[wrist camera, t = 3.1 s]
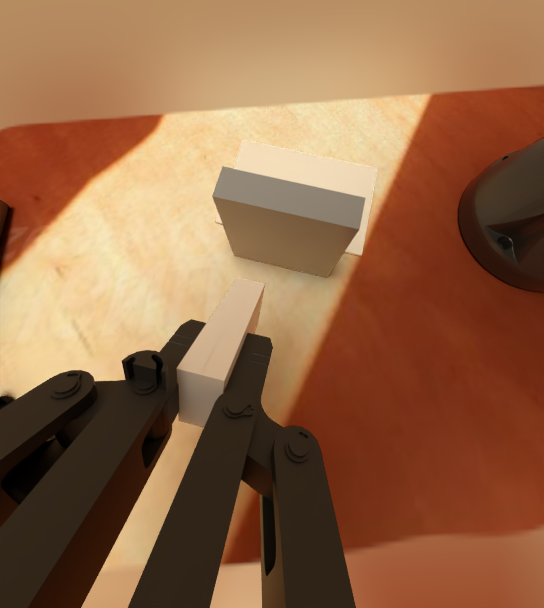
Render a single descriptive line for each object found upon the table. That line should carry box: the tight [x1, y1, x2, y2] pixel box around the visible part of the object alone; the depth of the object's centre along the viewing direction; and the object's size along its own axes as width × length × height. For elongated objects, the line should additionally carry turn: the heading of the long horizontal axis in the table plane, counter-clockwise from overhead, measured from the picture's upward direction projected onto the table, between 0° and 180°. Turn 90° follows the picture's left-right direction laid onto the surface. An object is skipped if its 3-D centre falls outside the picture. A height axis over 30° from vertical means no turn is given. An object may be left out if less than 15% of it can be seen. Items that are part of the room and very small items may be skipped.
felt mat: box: [215, 139, 378, 256], centre depth 28 cm, size 16×11×1 cm
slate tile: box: [213, 167, 366, 278], centre depth 22 cm, size 10×3×10 cm, turn 76°
